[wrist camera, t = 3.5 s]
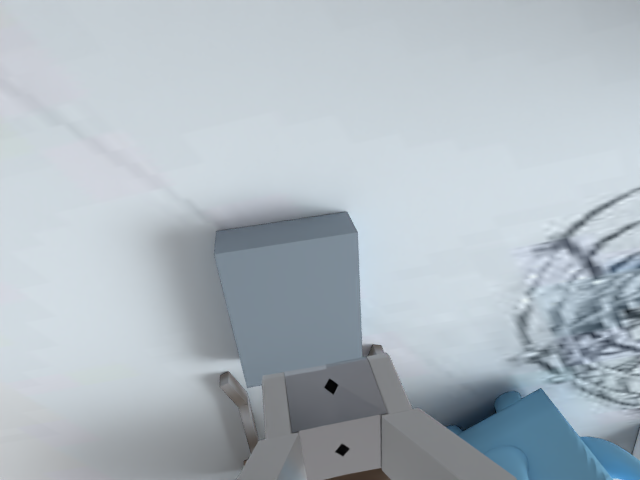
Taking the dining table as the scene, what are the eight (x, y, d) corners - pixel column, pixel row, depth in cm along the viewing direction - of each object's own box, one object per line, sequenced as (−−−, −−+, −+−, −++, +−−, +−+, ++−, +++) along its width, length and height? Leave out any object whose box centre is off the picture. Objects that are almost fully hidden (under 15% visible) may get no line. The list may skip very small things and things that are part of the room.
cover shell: (216, 231, 28) (214, 254, 25) (347, 211, 29) (357, 232, 26) (246, 358, 34) (247, 387, 31) (353, 339, 35) (362, 365, 32)
